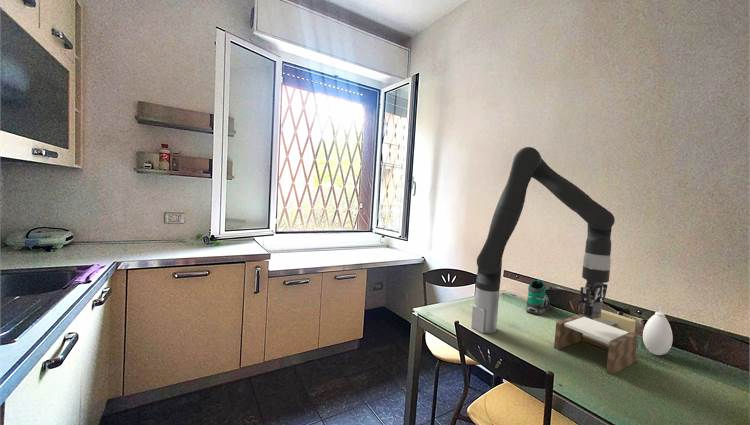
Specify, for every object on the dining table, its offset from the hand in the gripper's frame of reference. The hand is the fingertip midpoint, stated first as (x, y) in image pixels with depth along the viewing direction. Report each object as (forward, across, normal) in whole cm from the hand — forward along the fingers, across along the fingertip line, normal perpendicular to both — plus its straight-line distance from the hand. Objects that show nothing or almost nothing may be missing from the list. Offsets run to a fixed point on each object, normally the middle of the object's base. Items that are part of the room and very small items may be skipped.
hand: (591, 314), depth 102 cm
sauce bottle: (+16, -26, +10) cm, 32 cm away
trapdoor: (+9, -7, 0) cm, 12 cm away
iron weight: (0, 0, 0) cm, 0 cm away
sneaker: (+16, -28, -35) cm, 48 cm away
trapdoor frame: (+15, -3, 0) cm, 16 cm away
